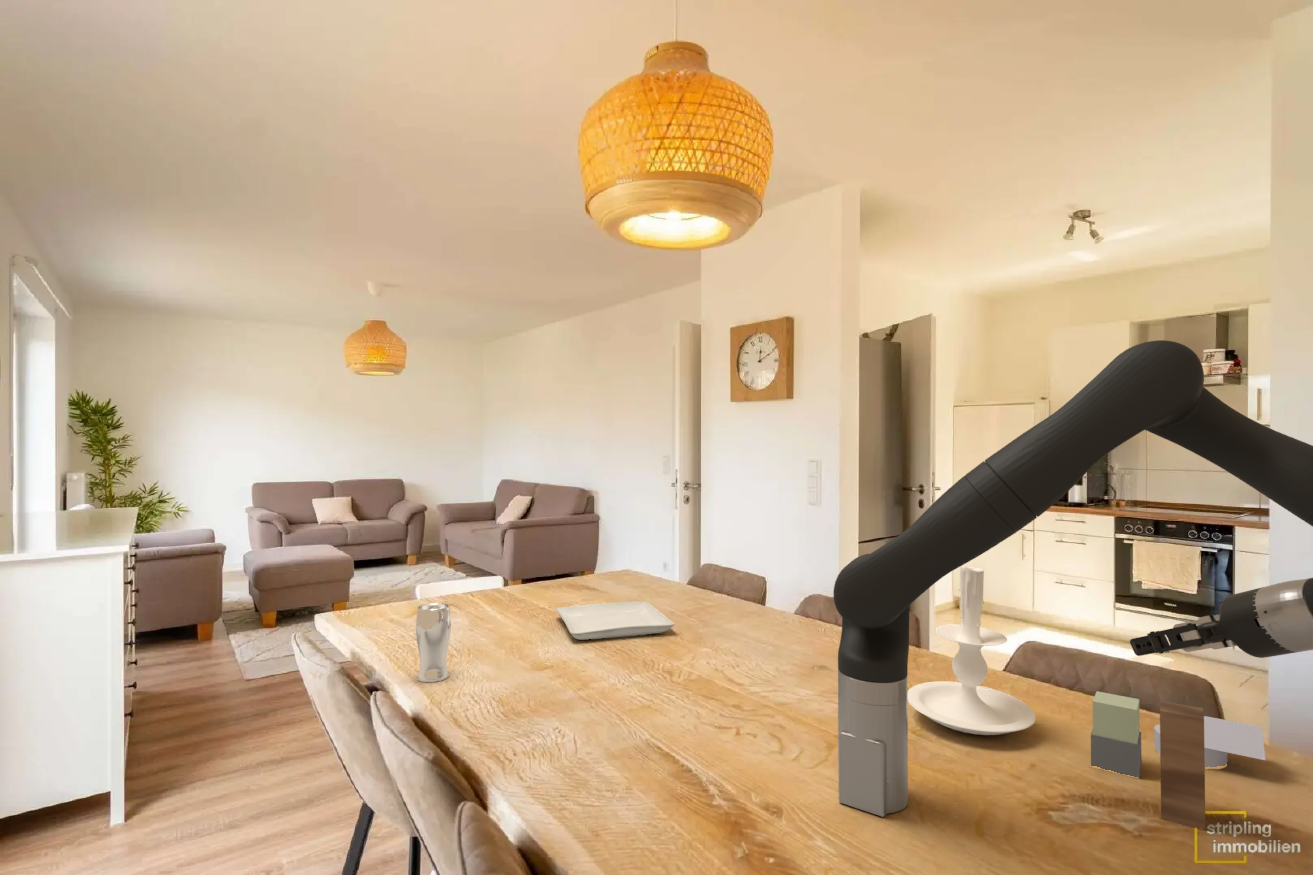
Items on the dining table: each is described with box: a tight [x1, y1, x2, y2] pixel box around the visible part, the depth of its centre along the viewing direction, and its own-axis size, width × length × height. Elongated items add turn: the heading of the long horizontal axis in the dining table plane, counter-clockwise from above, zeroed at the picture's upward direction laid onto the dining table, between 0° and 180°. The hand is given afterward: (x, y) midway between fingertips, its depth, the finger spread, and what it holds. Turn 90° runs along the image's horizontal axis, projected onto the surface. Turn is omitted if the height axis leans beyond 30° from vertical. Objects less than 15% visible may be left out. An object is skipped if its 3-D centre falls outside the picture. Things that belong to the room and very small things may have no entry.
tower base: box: [1090, 728, 1143, 778], centre depth 103 cm, size 6×6×5 cm
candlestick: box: [907, 562, 1037, 736], centre depth 120 cm, size 21×25×28 cm
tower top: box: [1092, 690, 1141, 744], centre depth 103 cm, size 6×6×5 cm
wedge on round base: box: [1153, 715, 1266, 767], centre depth 105 cm, size 9×7×13 cm
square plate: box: [554, 600, 676, 641], centre depth 183 cm, size 27×27×4 cm
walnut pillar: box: [1159, 700, 1206, 830], centre depth 89 cm, size 4×4×14 cm
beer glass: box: [415, 602, 452, 683], centre depth 142 cm, size 7×7×15 cm
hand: (1156, 644), depth 92 cm, fingers open, 8 cm apart
